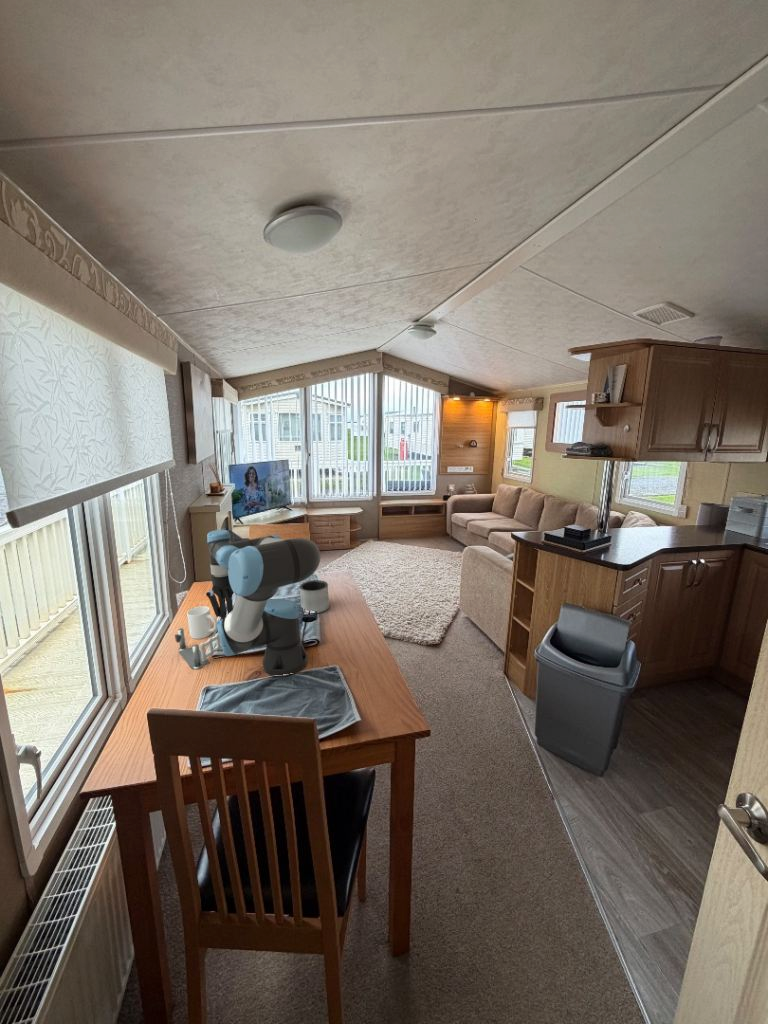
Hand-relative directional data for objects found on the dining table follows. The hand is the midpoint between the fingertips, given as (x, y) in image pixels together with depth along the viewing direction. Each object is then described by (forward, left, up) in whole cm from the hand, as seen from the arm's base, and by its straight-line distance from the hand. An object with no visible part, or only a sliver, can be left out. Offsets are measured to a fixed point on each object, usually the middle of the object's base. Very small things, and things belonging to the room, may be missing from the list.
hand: (229, 632), depth 155 cm
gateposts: (+6, +13, -7) cm, 16 cm away
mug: (+19, +3, -8) cm, 21 cm away
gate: (+2, +5, -7) cm, 9 cm away
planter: (+8, -42, -8) cm, 44 cm away
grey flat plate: (+5, +12, -7) cm, 15 cm away
